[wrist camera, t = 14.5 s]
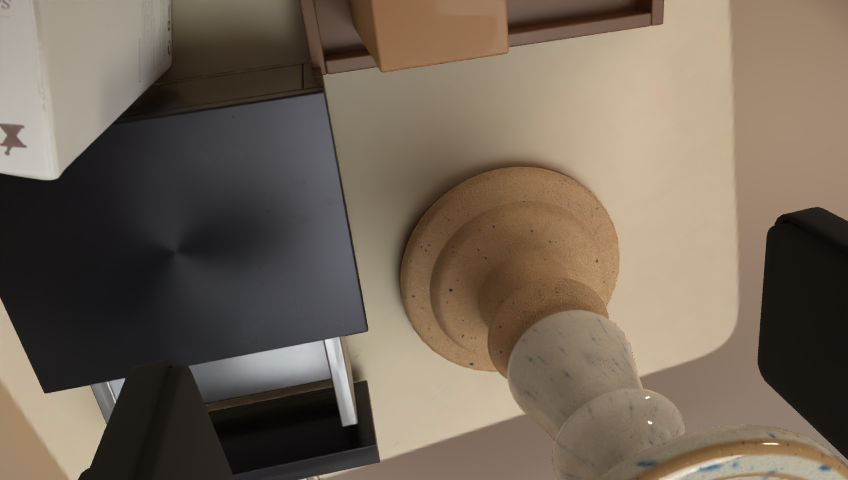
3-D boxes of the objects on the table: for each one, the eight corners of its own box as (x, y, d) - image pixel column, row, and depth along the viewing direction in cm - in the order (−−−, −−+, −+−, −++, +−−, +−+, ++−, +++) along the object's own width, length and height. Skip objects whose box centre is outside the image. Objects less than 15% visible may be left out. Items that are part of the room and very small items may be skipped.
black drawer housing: (356, 260, 35) (368, 332, 29) (92, 308, 33) (43, 395, 27) (319, 58, 30) (325, 90, 24) (12, 103, 29) (-70, 150, 22)
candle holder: (367, 210, 34) (443, 523, 16) (590, 130, 34) (917, 348, 16) (435, 388, 39) (550, 771, 21) (627, 318, 40) (901, 638, 22)
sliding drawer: (379, 445, 39) (390, 515, 34) (167, 489, 38) (149, 569, 33) (342, 249, 33) (349, 301, 29) (91, 294, 32) (55, 355, 27)
